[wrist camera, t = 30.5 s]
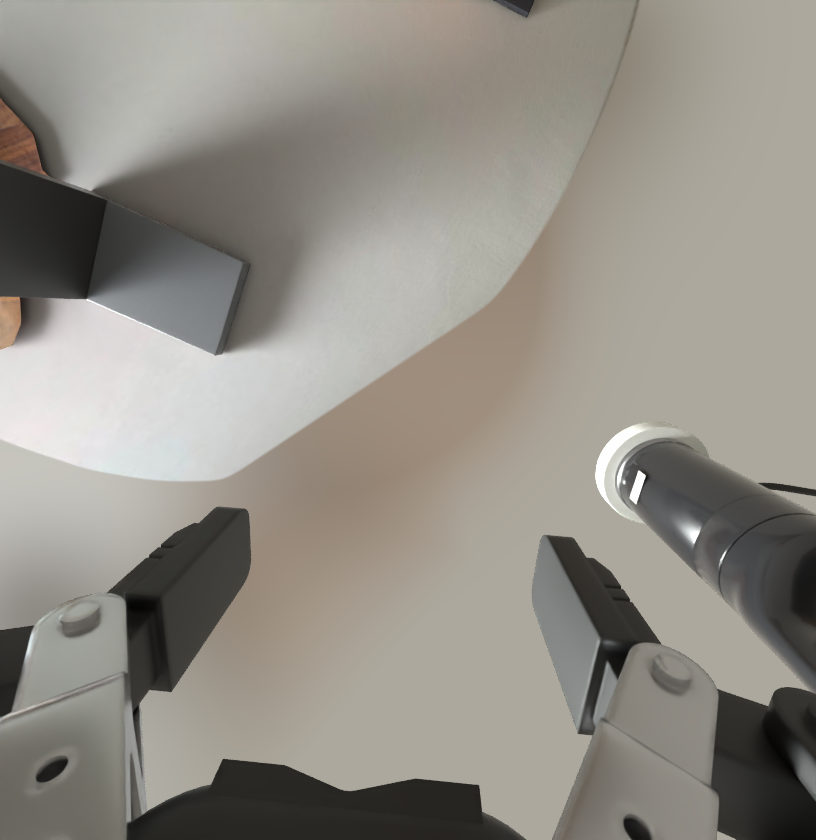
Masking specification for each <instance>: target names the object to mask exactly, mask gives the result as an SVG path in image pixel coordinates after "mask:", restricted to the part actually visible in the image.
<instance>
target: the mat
mask: <svg viewBox="0 0 816 840" xmlns="http://www.w3.org/2000/svg"><path fill="white" fill-rule="evenodd" d="M494 1H496V2H498V3H500V4H502V5H504V6H506V7H508V8H509V9H511V10H513V11H515V12H517V13H519V14H521V15H523V16H525V17H527V16H528V14H529V12H530V9H531V7H532V5H533V2H534V0H494Z"/></svg>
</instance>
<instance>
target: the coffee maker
mask: <svg viewBox="0 0 816 840" xmlns="http://www.w3.org/2000/svg"><path fill="white" fill-rule="evenodd" d="M249 266H250V264H249V263H247V262H245V261H243V260H241V259H239V258H236V257H234V256H232V255H230V254H228V253H225V252H223V251H221V250H219V249H217V248H214V247H212V246H210V245H208V244H206V243H204V242H201V241H199V240H197V239H195V238H193V237H190V236H188V235H186V234H184V233H182V232H179V231H177V230H175V229H173V228H171V227H168V226H166V225H164V224H162V223H160V222H157V221H155V220H153V219H151V218H149V217H146V216H144V215H142V214H140V213H138V212H135V211H133V210H131V209H129V208H127V207H124V206H122V205H120V204H118V203H116V202H113V201H111V200H109V199H107V198H105V197H102V196H100V195H98V194H96V193H94V192H91V191H89V190H86V189H84V188H81V187H78V186H75V185H72V184H69V183H67V182H64V181H61V180H58V179H55V178H52V177H50V176H47V175H44V174H41V173H38V172H35V171H33V170H30V169H27V168H24V167H21V166H18V165H16V164H13V163H10V162H7V161H4V160H1V159H0V297H31V298H64V299H87V300H89V301H91V302H94V303H96V304H98V305H101V306H103V307H105V308H107V309H110V310H112V311H114V312H117V313H119V314H121V315H123V316H126V317H128V318H130V319H133V320H135V321H137V322H139V323H142V324H144V325H146V326H149V327H151V328H153V329H156V330H158V331H160V332H162V333H165V334H167V335H169V336H172V337H174V338H176V339H178V340H181V341H183V342H185V343H188V344H190V345H192V346H194V347H197V348H199V349H201V350H204V351H206V352H208V353H211V354H213V355H215V356H216V355H221V354H223V350H224V347H225V344H226V341H227V337H228V334H229V331H230V328H231V324H232V321H233V318H234V315H235V311H236V308H237V305H238V302H239V299H240V295H241V292H242V289H243V286H244V282H245V279H246V276H247V273H248V269H249Z"/></svg>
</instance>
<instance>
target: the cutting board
mask: <svg viewBox="0 0 816 840" xmlns="http://www.w3.org/2000/svg"><path fill="white" fill-rule="evenodd" d="M6 106H7V105H6V104H5V103H3V101H2V100H1V98H0V159H1V160H4V161H7V162H10V163H13V164H16V165H18V166H21V167H24V168H27V169H30V170H33V171H35V172H38V173H41V174H44V175H47V174H46V173H45V172H44V171H43V170H42V167H41V163H40V159H39V155H38V151H37V147H36V143H35V139H34V134H33V133H32V132H31V131H30V130H29V129H28V128H27V127H26V126H25V124H24V123H23V122H22V121H21V120H20V119H19V118H18V117H17V116H16V115H15V114H14V113H13V112H12V110H11V109H10V108H9V107H6ZM47 176H48V175H47ZM20 325H21V309H20V297H0V350H1V349H3V348H6V347H9V346H11V345H13V343H14V340H15V338H16V335H17V333H18V330H19V327H20Z"/></svg>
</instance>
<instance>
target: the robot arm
mask: <svg viewBox="0 0 816 840" xmlns="http://www.w3.org/2000/svg"><path fill="white" fill-rule="evenodd" d="M615 488H616V491H617V494H618V496H619V498H620V499H621V501H622V502H623V503H624V504H625V505H626V506H627V507H628V508H629V509H630V510H632V511H633V512H634V513H635V514H636V515H637V516H639V518H640V519H641V520H642V521H643V522H644V523H645V524H647V526H649V527H650V528H651V529H652V530H653V531H654V532H655V533H656V534H657V535H658V536H659V537H660V538H661V539H662V540H663V541H664V542H665V543H666V544H667V545H668V546H669V547H670V548H671V549H672V550H673V551H674V552H675V553H676V554H677V555H678V556H679V557H680V558H681V559H682V560H683V561H684V562H686V564H687V565H688V566H689V567H691V569H692V570H693V571H695V572H696V573H697V574H698V575H699V576H700V577H701V578H702V579H703V580H704V581H705V582H706V583H707V584H708V585H709V586H710V587H711V588H712V589H713V590H714V591H715V592H717V594H718V595H719V596H720V597H722V599H723V600H724V601H725V602H726V603H728V604H729V606H730V607H731V608H732V609H733V610H734V611H735V612H737V613H738V614H739V615H740V616H741V617H742V619H743V620H744V621H745V623H746V624H747V625H748V626H749V628H750V629H751V630H752V631H753V632H754V633H755V634H756V635H757V636H758V637H759V638H760V639H761V640H762V641H763V642H764V643H765V644H766V645H767V646H768V647H769V648H770V649H771V651H772V652H773V653H775V655H776V656H777V657H778V658H780V660H781V661H782V662H783V663H784V664H785V665H786V666H787V667H788V668H789V669H790V670H791V671H792V672H793V674H794V675H795V676H796V677H797V678H798V679H799V680H800V681H801V682H802V683H803V684H804V686H805V687H806V688H807V689H808V690H809V691H810V692H809V691H806V690H802V689H797V688H791V687H784V688H780V689H777V690H776V691H775V692H774V694H773V696H772V698H771V701H770V704H769V706H766V705H763V704H759V703H757V702H754V701H751V700H748V699H744V698H742V697H739V696H736V695H733V694H730V693H727V692H724V691H722V690H719V689H717V688H716V685H715V684H714V682H713V680H712V679H711V678H710V676H709V675H708V674H707V673H706V672H705V671H704V670H703V669H702V668H701V667H700V666H699V665H698V664H697V663H695V662H694V661H693V660H692V659H690V658H689V657H687V656H685V655H684V654H682V653H680V652H678V651H676V650H674V649H672V648H669V647H667V646H664V645H662V644H661V643H660V641H659V640H658V639H657V637H656V636H655V634H654V633H653V632H652V630H651V628H650V627H649V626H648V624H647V623H646V621H645V620H644V618H643V617H642V616H641V614H640V613H639V611H638V610H637V608H636V607H635V606H634V604H633V603H632V602H630V599H629V597H628V596H627V594H626V593H625V591H624V590H623V589H621V586H620V584H619V583H618V581H617V580H616V578H615V577H614V576H613V574H612V573H611V571H609V570H608V569H607V568H606V567H604V566H603V565H602V564H600V563H599V562H598V561H596V560H595V559H594V558H586V556H585V555H584V553H583V552H582V550H581V549H580V547H579V546H578V544H577V542H576V541H575V539H574V538H572V537H562V536H550V535H543V536H542V538H541V540H540V545H539V550H538V556H537V561H536V567H535V573H534V578H533V584H532V602H533V607H534V611H535V614H536V617H537V619H538V622H539V625H540V628H541V631H542V633H543V636H544V639H545V642H546V645H547V648H548V650H549V653H550V656H551V659H552V661H553V665H554V667H555V670H556V673H557V676H558V678H559V682H560V684H561V687H562V690H563V693H564V696H565V698H566V701H567V704H568V707H569V710H570V712H571V715H572V718H573V721H574V724H575V727H576V729H577V732H578V734H585V735H593V736H592V739H591V741H590V744H589V746H588V749H587V752H586V754H585V757H584V759H583V762H582V764H581V767H580V769H579V772H578V774H577V777H576V780H575V782H574V785H573V787H572V790H571V792H570V795H569V798H568V800H567V802H566V805H565V808H564V810H563V813H562V815H561V818H560V821H559V823H558V826H557V828H556V830H555V833H554V836H553V838H552V840H717V831H719V832H721V833H724V834H726V835H728V836H730V837H733V838H735V839H736V840H816V513H813V512H812V511H810V510H808V509H806V508H804V507H802V506H800V505H799V504H797V503H795V502H793V501H791V500H788V499H786V498H785V497H783V496H781V495H779V494H777V493H775V492H773V491H771V490H780V491H787V492H793V493H799V494H805V495H811V496H816V490H814V489H808V488H802V487H796V486H790V485H783V484H775V483H756V482H754V481H752V480H751V479H748V478H747V477H745V476H743V475H741V474H739V473H737V472H735V471H733V470H731V469H730V468H728V467H726V466H724V465H722V464H720V463H718V462H716V461H714V460H713V459H710V458H709V457H707V456H705V455H703V454H701V453H700V452H698V451H696V450H694V449H693V448H691V447H690V446H688V445H686V444H684V443H682V442H680V441H678V440H675V439H670V438H656V439H651V440H648V441H645V442H643V443H641V444H639V445H637V446H635V447H634V448H633V449H631V450H630V451H629V452H628V453H627V454H626V455H625V456H624V457H623V459H622V460H621V462H620V464H619V466H618V468H617V471H616V475H615ZM770 489H771V490H770ZM250 564H251V549H250V524H249V513H248V511H247V510H246V509H241V508H230V507H216V508H215V509H213V510H212V511H211V512H210V513H209V514H208V515H207V516H206V517H205V518H204V519H203V520H202V521H201V522H200V523H194V524H191V525H189V526H187V527H185V528H183V529H181V530H180V531H177V532H175V533H174V534H173V535H172V536H171V537H169V538H168V539H167V540H166V541H165V542H164V543H163V544H161V547H159V548H157V549H156V550H155V551H154V552H152V553H151V554H150V555H149V558H146V559H144V560H143V561H142V562H141V563H140V564H139V565H138V566H136V567H135V568H134V569H133V570H132V571H131V572H130V573H129V574H127V575H126V576H125V577H124V578H123V579H122V580H121V581H119V582H118V583H117V584H116V585H115V586H114V587H113V588H112V589H110V590H109V591H108V592H107V593H96V594H90V595H86V596H82V597H79V598H75V599H73V600H70V601H68V602H66V603H63V604H61V605H59V606H58V607H56V608H54V609H53V610H51V611H50V612H48V613H47V614H45V615H44V616H43V617H42V618H41V619H40V620H39V621H38V622H37V623H36V624H35V626H27V627H20V628H13V629H6V630H0V840H526V839H525V838H524V837H522V836H521V835H520V834H518V833H517V832H516V831H514V830H513V829H512V828H510V827H509V826H508V825H506V824H504V823H503V822H501V821H499V820H498V819H496V818H494V817H493V816H490V815H488V814H486V813H484V812H482V808H481V798H480V789H479V785H472V784H462V783H452V782H443V781H433V780H423V779H412V780H406V781H401V782H396V783H391V784H386V785H381V786H376V787H371V788H367V789H361V790H356V791H343V790H340V789H338V788H335V787H333V786H331V785H329V784H326V783H324V782H322V781H320V780H317V779H315V778H313V777H310V776H308V775H306V774H304V773H301V772H299V771H297V770H294V769H292V768H290V767H288V766H285V765H277V764H267V763H258V762H248V761H238V760H228V759H223V760H222V762H221V764H220V767H219V769H218V771H217V773H216V775H215V778H214V780H213V782H212V784H211V785H207V786H202V787H199V788H196V789H193V790H190V791H187V792H184V793H182V794H180V795H177V796H175V797H173V798H171V799H168V800H166V801H165V802H163V803H161V804H159V805H157V806H156V807H154V808H152V809H150V810H149V811H147V805H146V790H145V773H144V754H143V736H142V719H141V708H140V702H141V700H142V699H143V698H144V696H145V695H146V694H147V692H148V691H149V690H157V691H167V692H172V690H173V689H174V687H175V686H176V684H177V683H178V681H179V680H180V678H181V677H182V675H183V674H184V672H185V671H186V669H187V668H188V666H189V665H190V663H191V662H192V660H193V659H194V657H195V656H196V654H197V653H198V652H199V650H200V649H201V647H202V646H203V644H204V642H205V641H206V640H207V638H208V637H209V635H210V634H211V632H212V631H213V629H214V628H215V626H216V625H217V623H218V622H219V620H220V619H221V617H222V616H223V614H224V613H225V611H226V610H227V608H228V607H229V605H230V604H231V602H232V601H233V599H234V598H235V596H236V595H237V593H238V592H239V590H240V589H241V587H242V586H243V584H244V583H245V581H246V579H247V576H248V573H249V570H250Z"/></svg>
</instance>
